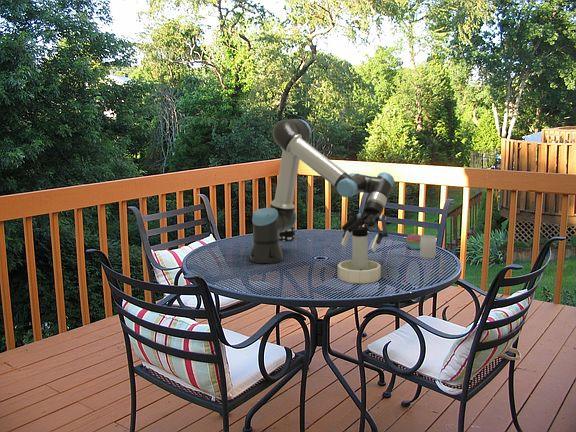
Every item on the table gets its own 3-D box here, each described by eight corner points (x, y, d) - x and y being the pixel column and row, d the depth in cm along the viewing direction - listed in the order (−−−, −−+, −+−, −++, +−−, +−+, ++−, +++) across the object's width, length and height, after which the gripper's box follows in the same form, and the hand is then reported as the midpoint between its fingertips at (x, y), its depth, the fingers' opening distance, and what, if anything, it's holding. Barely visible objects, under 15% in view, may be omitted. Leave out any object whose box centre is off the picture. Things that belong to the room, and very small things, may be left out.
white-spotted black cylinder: (297, 238, 291) (296, 201, 288) (290, 242, 284) (290, 204, 280) (283, 237, 295) (282, 201, 291) (276, 240, 287) (275, 203, 284)
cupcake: (423, 250, 261) (424, 226, 259) (405, 250, 263) (406, 225, 260) (422, 246, 269) (423, 222, 267) (405, 245, 271) (405, 222, 268)
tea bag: (434, 258, 247) (435, 236, 245) (419, 257, 250) (420, 236, 248) (435, 256, 251) (436, 235, 249) (420, 255, 253) (421, 234, 251)
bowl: (333, 281, 217) (333, 269, 216) (344, 269, 233) (344, 258, 232) (375, 285, 211) (375, 272, 210) (383, 272, 227) (383, 261, 226)
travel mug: (364, 277, 217) (364, 229, 214) (349, 275, 221) (349, 227, 217) (370, 273, 223) (371, 226, 219) (355, 271, 226) (356, 224, 222)
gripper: (405, 213, 223) (388, 256, 214) (352, 207, 237) (334, 248, 228) (400, 202, 217) (383, 246, 208) (346, 197, 232) (327, 238, 223)
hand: (357, 247), depth 218 cm, fingers open, 13 cm apart
